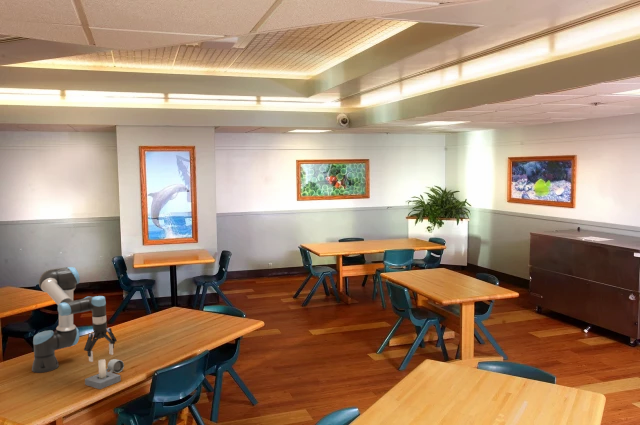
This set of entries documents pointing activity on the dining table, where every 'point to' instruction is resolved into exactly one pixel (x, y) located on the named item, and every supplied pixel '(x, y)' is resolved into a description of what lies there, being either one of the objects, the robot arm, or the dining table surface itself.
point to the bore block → (103, 383)
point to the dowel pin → (102, 368)
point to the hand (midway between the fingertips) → (101, 357)
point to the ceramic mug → (115, 366)
